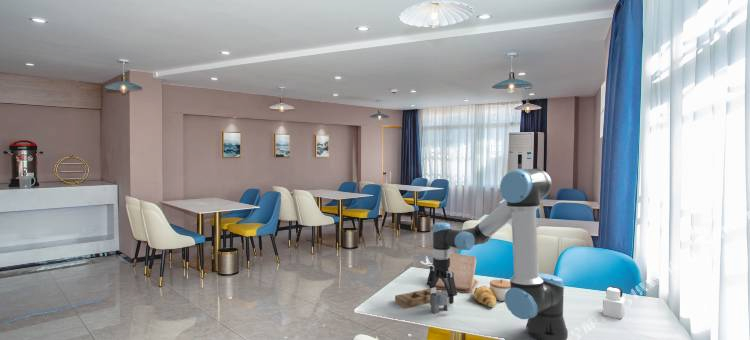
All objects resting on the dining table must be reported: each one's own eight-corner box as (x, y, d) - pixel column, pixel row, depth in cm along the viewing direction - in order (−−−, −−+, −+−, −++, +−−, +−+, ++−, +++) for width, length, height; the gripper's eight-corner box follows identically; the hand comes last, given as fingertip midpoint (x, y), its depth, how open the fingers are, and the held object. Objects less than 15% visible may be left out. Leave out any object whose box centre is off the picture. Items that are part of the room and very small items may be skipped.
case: (431, 289, 225) (432, 259, 224) (441, 278, 244) (442, 249, 243) (471, 295, 217) (472, 263, 216) (478, 282, 236) (479, 253, 235)
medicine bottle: (606, 310, 194) (607, 283, 194) (624, 314, 190) (625, 287, 189) (602, 315, 189) (603, 288, 188) (621, 319, 184) (622, 291, 184)
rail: (432, 294, 217) (432, 287, 217) (444, 299, 209) (444, 293, 209) (395, 302, 206) (395, 295, 206) (405, 308, 198) (405, 301, 198)
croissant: (498, 316, 197) (507, 301, 197) (480, 306, 195) (488, 291, 195) (481, 299, 218) (489, 285, 218) (464, 290, 216) (472, 276, 216)
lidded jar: (492, 302, 205) (492, 282, 204) (487, 294, 215) (487, 276, 215) (515, 303, 204) (515, 283, 204) (509, 295, 215) (510, 276, 214)
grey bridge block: (447, 307, 199) (447, 290, 199) (452, 309, 196) (452, 292, 196) (429, 311, 194) (429, 293, 194) (434, 314, 191) (434, 296, 191)
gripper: (465, 262, 186) (465, 313, 187) (432, 251, 206) (431, 296, 207) (452, 264, 182) (451, 316, 183) (419, 253, 202) (419, 299, 203)
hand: (441, 306), depth 195 cm, fingers open, 11 cm apart
